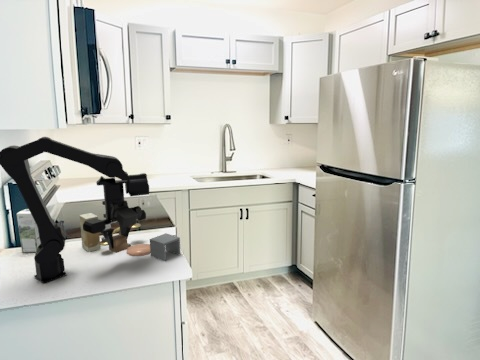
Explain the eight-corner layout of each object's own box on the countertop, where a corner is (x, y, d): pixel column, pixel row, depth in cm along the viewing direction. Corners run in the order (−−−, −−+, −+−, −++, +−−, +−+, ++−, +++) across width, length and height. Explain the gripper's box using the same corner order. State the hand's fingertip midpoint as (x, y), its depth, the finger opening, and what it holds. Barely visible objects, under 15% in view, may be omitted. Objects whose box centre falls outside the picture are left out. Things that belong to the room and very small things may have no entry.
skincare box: (81, 247, 124) (78, 214, 122) (93, 244, 127) (90, 212, 125) (88, 252, 119) (85, 218, 117) (101, 249, 122) (98, 215, 120)
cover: (164, 261, 112) (163, 243, 111) (150, 255, 116) (149, 239, 115) (180, 254, 117) (179, 237, 116) (166, 249, 122) (165, 233, 121)
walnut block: (116, 252, 106) (115, 240, 105) (109, 249, 108) (108, 237, 108) (127, 248, 109) (126, 236, 108) (120, 246, 112) (119, 234, 111)
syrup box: (46, 246, 125) (42, 207, 122) (38, 253, 119) (32, 212, 117) (30, 246, 125) (25, 208, 122) (21, 253, 119) (15, 212, 116)
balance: (104, 256, 116) (102, 230, 115) (97, 252, 119) (95, 227, 117) (144, 242, 129) (142, 218, 127) (136, 239, 131) (135, 216, 130)
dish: (137, 258, 114) (137, 255, 114) (121, 251, 120) (121, 249, 120) (158, 249, 121) (158, 247, 121) (142, 244, 127) (142, 241, 127)
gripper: (100, 208, 93) (105, 262, 96) (155, 195, 108) (158, 242, 111) (79, 202, 100) (84, 253, 103) (134, 191, 115) (137, 235, 118)
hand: (118, 246), depth 109 cm, fingers closed on walnut block, 4 cm apart
